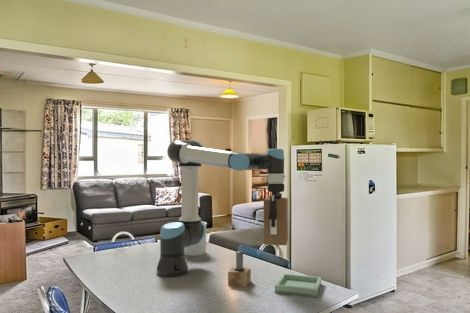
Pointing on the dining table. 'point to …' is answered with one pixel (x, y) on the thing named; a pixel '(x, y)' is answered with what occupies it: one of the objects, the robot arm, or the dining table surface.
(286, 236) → the wooden block
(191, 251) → the utensil holder
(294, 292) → the tray
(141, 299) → the dining table surface
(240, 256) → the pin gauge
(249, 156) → the robot arm
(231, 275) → the wooden socket block
